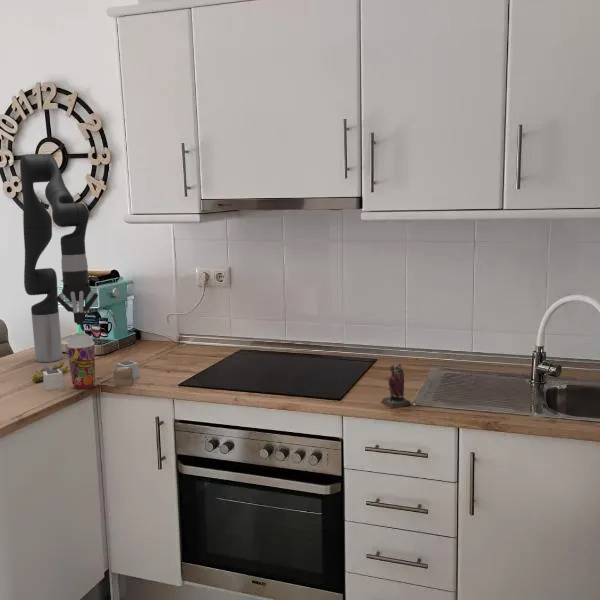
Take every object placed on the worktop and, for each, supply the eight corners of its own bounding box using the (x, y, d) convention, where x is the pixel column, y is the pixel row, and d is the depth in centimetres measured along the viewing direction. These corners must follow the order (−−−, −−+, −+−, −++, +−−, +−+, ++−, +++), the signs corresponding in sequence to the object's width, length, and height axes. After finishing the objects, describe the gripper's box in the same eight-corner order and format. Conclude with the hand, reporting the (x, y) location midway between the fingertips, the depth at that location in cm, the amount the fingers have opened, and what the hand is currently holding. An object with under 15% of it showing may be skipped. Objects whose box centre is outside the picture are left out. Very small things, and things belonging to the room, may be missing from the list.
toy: (73, 366, 238) (46, 376, 223) (66, 378, 239) (37, 388, 225) (63, 356, 238) (34, 365, 224) (55, 368, 240) (26, 377, 225)
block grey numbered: (117, 378, 229) (116, 362, 228) (130, 375, 232) (129, 359, 231) (125, 381, 225) (124, 365, 224) (138, 377, 229) (137, 362, 228)
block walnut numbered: (117, 382, 224) (116, 366, 223) (133, 381, 224) (132, 365, 223) (114, 387, 219) (113, 370, 218) (130, 386, 219) (129, 370, 218)
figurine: (411, 406, 195) (412, 364, 192) (390, 409, 192) (390, 367, 190) (401, 399, 201) (400, 359, 198) (380, 402, 198) (380, 361, 196)
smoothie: (79, 391, 214) (74, 328, 211) (65, 386, 220) (60, 324, 217) (103, 385, 221) (98, 323, 217) (88, 380, 226) (84, 320, 223)
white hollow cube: (44, 386, 221) (42, 370, 220) (60, 384, 223) (59, 368, 223) (47, 390, 217) (45, 374, 216) (63, 388, 219) (62, 371, 218)
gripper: (96, 266, 220) (100, 320, 223) (51, 268, 215) (56, 324, 218) (98, 268, 213) (102, 324, 216) (52, 271, 208) (57, 328, 211)
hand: (79, 324), depth 217 cm, fingers closed
